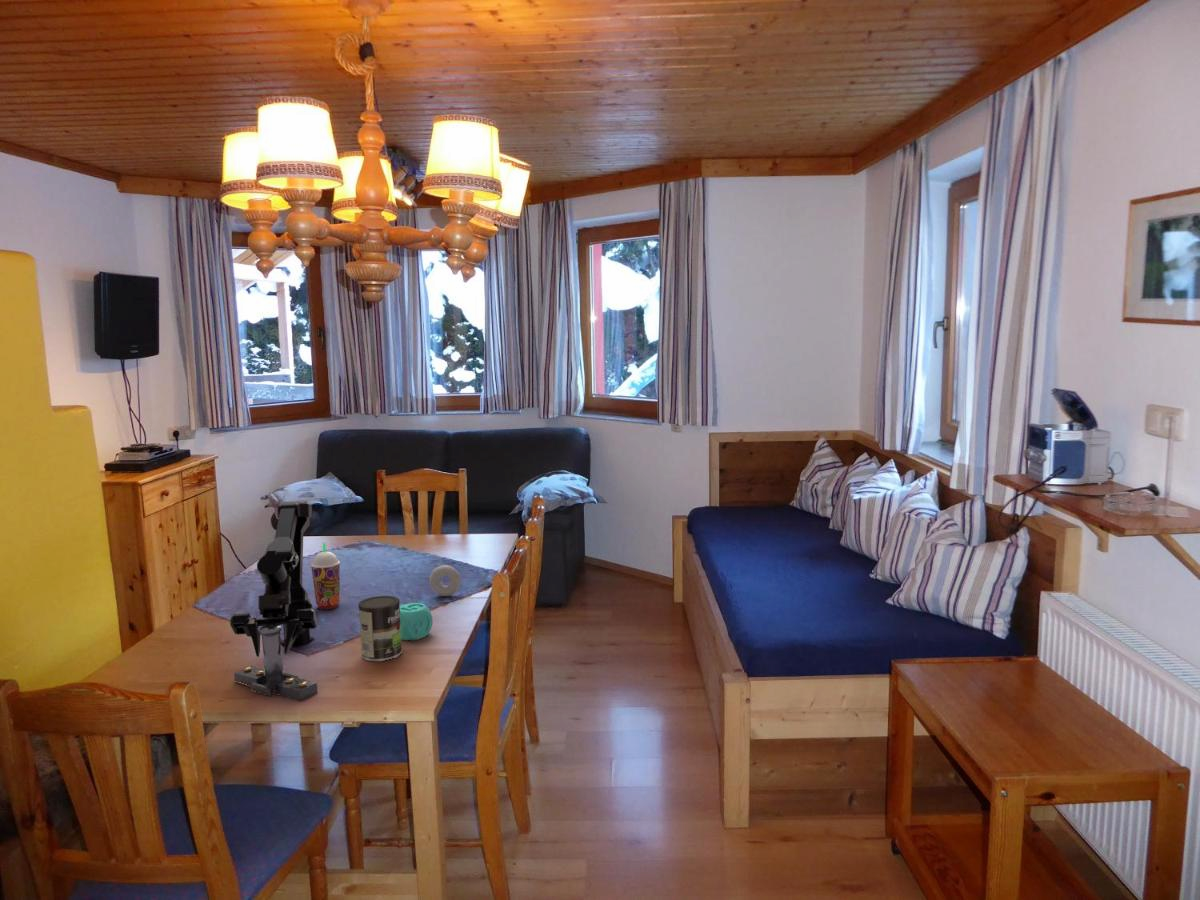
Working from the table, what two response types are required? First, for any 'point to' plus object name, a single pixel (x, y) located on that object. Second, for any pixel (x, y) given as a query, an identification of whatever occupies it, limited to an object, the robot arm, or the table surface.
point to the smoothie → (326, 579)
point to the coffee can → (380, 628)
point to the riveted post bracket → (287, 688)
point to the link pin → (272, 654)
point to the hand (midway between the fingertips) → (271, 655)
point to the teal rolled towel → (415, 621)
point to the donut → (451, 574)
